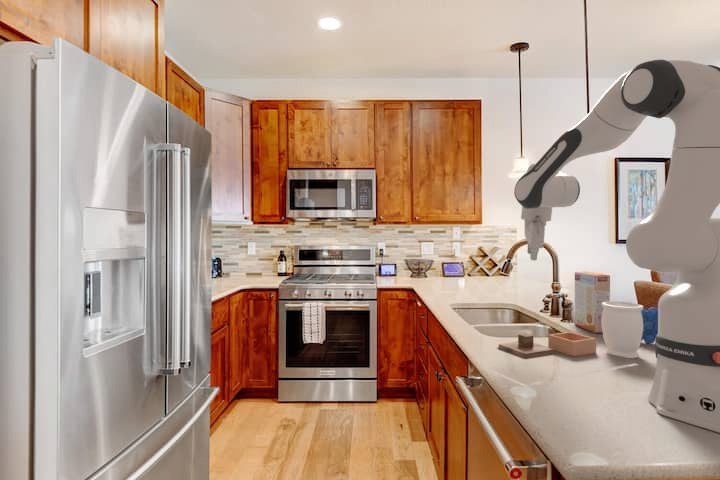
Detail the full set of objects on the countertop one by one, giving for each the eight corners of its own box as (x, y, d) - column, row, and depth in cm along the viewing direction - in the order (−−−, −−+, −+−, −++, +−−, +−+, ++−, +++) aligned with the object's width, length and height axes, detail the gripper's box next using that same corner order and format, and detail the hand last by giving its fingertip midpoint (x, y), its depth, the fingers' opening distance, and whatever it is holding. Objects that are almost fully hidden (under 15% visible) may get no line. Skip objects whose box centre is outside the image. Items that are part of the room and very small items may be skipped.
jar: (650, 361, 115) (650, 307, 114) (609, 359, 117) (609, 306, 116) (633, 350, 125) (633, 301, 125) (595, 348, 127) (596, 300, 127)
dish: (596, 355, 120) (596, 338, 120) (573, 359, 117) (573, 341, 117) (569, 347, 129) (569, 331, 128) (548, 350, 125) (548, 334, 125)
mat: (556, 355, 120) (556, 353, 120) (525, 360, 116) (525, 358, 116) (526, 345, 131) (526, 343, 131) (496, 349, 127) (496, 347, 127)
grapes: (671, 343, 132) (672, 306, 132) (670, 348, 127) (670, 309, 126) (629, 338, 139) (629, 302, 139) (625, 342, 134) (625, 305, 134)
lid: (554, 353, 121) (554, 337, 121) (525, 357, 116) (525, 341, 116) (526, 344, 131) (526, 329, 131) (498, 347, 127) (498, 332, 127)
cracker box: (610, 333, 146) (611, 274, 145) (593, 333, 146) (594, 275, 145) (589, 324, 160) (589, 271, 159) (573, 324, 160) (573, 271, 159)
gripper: (551, 219, 120) (546, 264, 122) (542, 211, 139) (538, 251, 142) (528, 217, 122) (524, 262, 124) (523, 210, 141) (519, 249, 143)
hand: (531, 256), depth 133 cm, fingers open, 8 cm apart
